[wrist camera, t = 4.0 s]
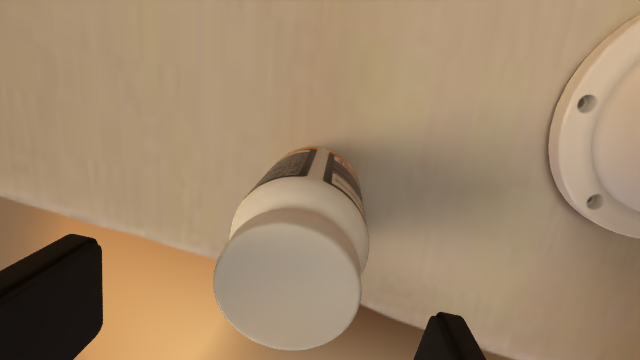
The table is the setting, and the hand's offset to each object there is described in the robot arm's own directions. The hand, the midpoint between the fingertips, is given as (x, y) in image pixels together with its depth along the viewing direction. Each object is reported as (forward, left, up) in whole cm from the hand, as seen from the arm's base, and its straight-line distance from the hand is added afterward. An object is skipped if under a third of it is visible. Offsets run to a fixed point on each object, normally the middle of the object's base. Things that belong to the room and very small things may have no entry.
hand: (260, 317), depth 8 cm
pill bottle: (0, 0, -11) cm, 11 cm away
